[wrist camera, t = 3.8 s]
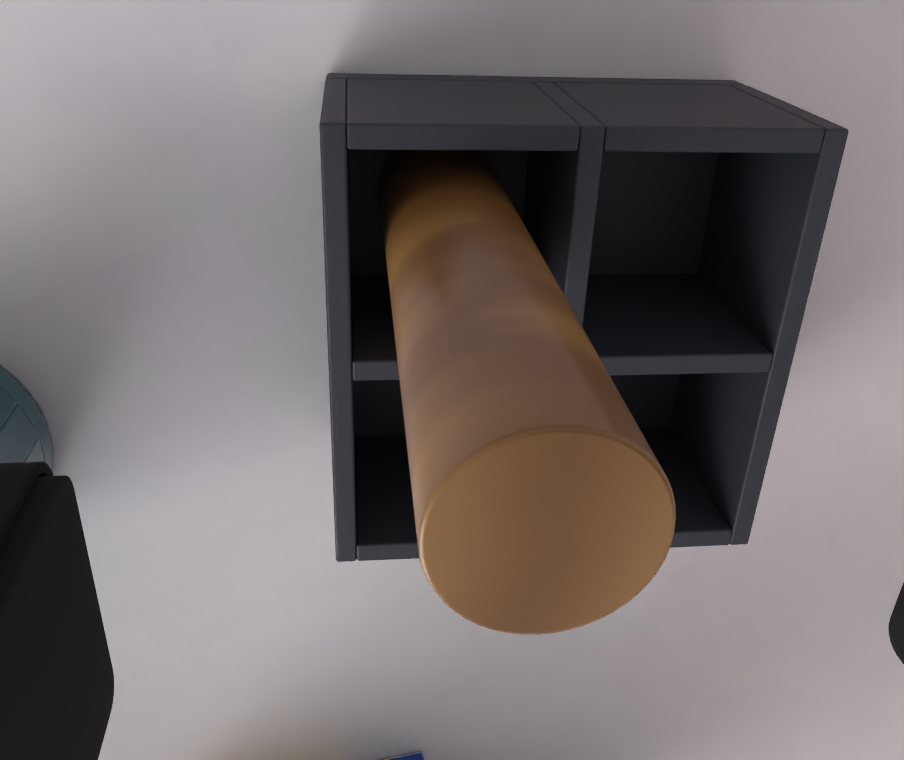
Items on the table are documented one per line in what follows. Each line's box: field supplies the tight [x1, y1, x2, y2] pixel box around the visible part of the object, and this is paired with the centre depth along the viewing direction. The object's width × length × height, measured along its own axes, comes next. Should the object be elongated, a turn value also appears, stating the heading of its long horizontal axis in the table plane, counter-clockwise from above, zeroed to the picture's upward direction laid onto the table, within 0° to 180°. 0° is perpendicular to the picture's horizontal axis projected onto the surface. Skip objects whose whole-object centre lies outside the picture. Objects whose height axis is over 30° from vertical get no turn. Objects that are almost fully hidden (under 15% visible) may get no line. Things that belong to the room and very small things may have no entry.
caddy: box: [320, 73, 848, 562], centre depth 22 cm, size 10×10×6 cm
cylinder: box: [379, 150, 676, 634], centre depth 16 cm, size 3×3×14 cm
